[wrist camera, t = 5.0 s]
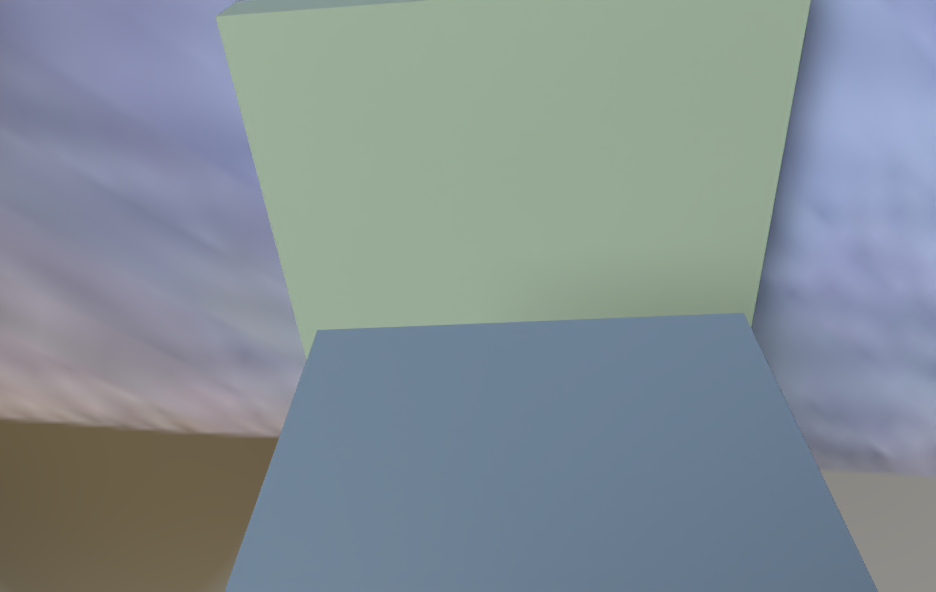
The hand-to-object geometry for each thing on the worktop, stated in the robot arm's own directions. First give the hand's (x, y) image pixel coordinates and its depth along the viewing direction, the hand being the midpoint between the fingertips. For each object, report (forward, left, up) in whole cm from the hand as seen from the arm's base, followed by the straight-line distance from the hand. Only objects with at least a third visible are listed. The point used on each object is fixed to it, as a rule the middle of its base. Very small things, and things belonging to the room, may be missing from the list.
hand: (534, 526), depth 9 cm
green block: (0, 0, -8) cm, 8 cm away
